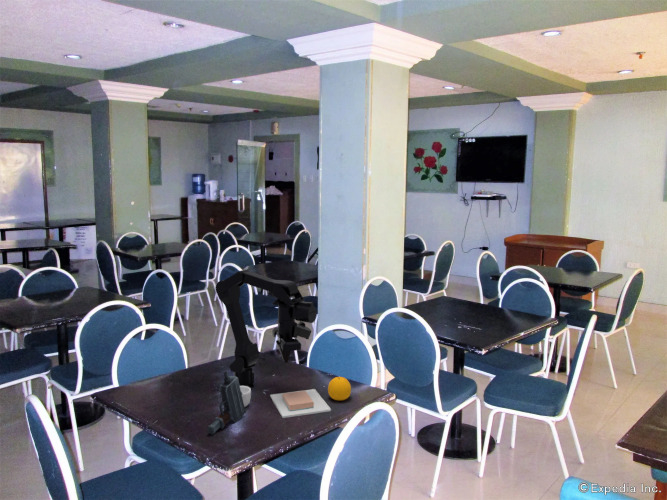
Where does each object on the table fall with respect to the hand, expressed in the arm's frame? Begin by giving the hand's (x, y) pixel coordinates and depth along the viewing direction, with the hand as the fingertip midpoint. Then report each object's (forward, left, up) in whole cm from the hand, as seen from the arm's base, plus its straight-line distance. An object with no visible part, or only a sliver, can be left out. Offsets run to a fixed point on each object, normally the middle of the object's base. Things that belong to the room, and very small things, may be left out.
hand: (285, 362), depth 186 cm
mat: (+2, -9, -12) cm, 15 cm away
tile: (+1, -5, -10) cm, 11 cm away
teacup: (-18, -5, -12) cm, 22 cm away
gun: (-23, -17, -12) cm, 30 cm away
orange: (+16, -9, -12) cm, 22 cm away
